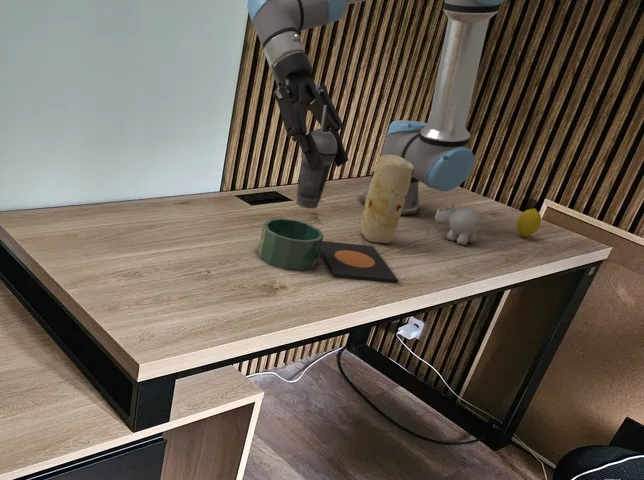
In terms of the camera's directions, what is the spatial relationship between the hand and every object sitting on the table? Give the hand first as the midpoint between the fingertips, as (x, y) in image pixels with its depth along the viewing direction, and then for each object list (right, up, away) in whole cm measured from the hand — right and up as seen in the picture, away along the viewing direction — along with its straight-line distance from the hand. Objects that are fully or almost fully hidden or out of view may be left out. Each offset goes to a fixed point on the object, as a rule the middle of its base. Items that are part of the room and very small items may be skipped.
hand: (330, 165), depth 137 cm
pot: (-7, -17, +13) cm, 22 cm away
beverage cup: (-3, -7, +7) cm, 10 cm away
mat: (+9, -17, +16) cm, 25 cm away
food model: (+17, -10, +30) cm, 36 cm away
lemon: (+62, -7, +47) cm, 78 cm away
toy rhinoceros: (+40, -8, +39) cm, 56 cm away
